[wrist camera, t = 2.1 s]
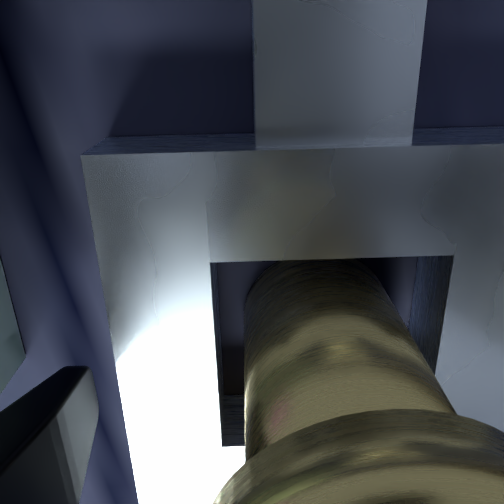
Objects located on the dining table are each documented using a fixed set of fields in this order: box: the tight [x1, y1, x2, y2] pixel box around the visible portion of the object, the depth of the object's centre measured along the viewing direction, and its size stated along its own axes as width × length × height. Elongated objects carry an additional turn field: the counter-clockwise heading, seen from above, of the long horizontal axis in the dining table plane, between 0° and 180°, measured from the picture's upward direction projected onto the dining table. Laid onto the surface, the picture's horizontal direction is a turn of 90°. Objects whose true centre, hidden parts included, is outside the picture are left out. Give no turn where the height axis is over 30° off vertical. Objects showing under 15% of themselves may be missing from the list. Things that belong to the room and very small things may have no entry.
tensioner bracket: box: [80, 0, 504, 504], centre depth 7 cm, size 17×8×3 cm, turn 1°
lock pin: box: [212, 258, 504, 504], centre depth 7 cm, size 4×4×6 cm
